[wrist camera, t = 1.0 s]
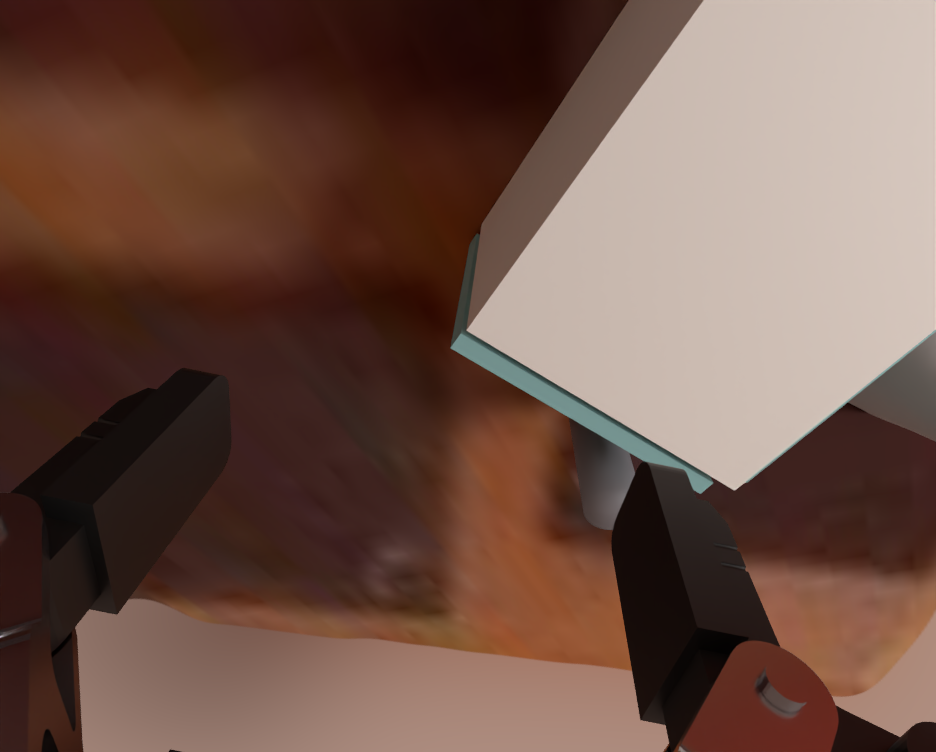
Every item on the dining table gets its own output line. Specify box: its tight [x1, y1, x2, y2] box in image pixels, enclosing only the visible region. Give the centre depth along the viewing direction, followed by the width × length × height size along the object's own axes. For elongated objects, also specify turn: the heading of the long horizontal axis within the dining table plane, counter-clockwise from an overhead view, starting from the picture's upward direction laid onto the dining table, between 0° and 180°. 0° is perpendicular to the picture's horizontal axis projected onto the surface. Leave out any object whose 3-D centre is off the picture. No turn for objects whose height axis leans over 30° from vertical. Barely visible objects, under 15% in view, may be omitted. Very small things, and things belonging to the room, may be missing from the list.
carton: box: [466, 0, 936, 490], centre depth 25 cm, size 16×15×14 cm
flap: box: [450, 233, 713, 530], centre depth 31 cm, size 6×14×13 cm, turn 58°
